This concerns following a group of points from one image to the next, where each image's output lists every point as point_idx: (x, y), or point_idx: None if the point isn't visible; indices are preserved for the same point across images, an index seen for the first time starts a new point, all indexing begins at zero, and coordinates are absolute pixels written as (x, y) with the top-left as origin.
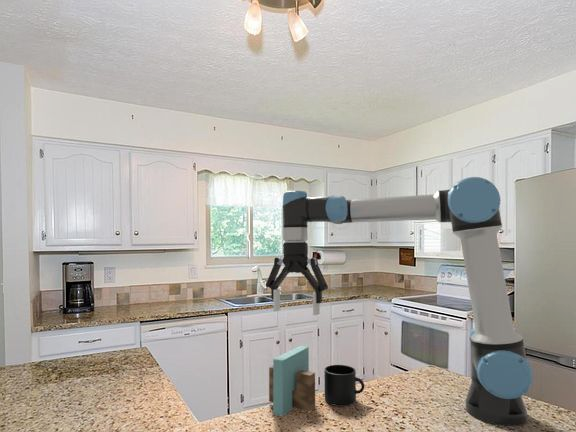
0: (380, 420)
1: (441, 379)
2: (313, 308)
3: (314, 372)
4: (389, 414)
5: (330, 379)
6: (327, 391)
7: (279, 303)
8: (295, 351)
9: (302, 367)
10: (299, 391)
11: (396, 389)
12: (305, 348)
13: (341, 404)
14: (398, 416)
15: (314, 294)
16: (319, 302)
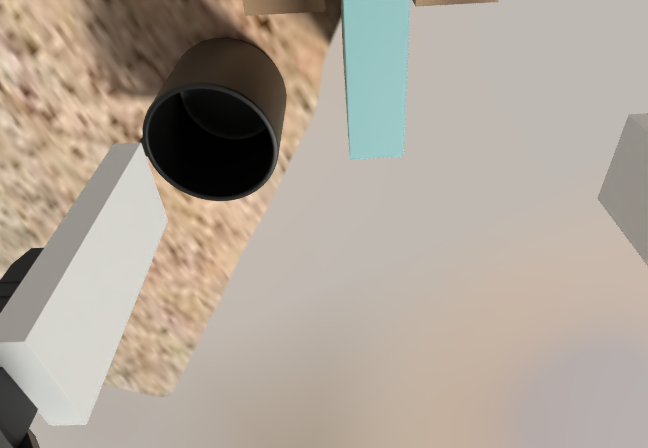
0: (24, 16)
1: None
2: (112, 182)
3: (246, 13)
4: (38, 77)
5: (217, 73)
6: (244, 58)
7: (638, 233)
8: (369, 43)
9: (344, 53)
10: None
11: None
12: (349, 127)
13: (192, 47)
14: (9, 79)
15: (13, 316)
16: (25, 256)
